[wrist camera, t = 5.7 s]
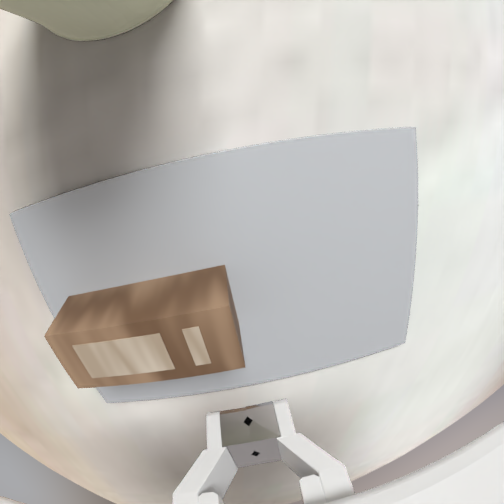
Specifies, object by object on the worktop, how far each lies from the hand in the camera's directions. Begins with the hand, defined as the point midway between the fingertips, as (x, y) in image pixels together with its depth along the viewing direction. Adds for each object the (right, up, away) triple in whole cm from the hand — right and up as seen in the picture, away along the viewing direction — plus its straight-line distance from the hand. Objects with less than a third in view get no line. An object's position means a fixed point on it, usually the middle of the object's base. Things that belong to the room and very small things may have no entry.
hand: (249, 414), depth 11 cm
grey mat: (-1, +4, +8) cm, 9 cm away
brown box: (-1, +3, +6) cm, 6 cm away
